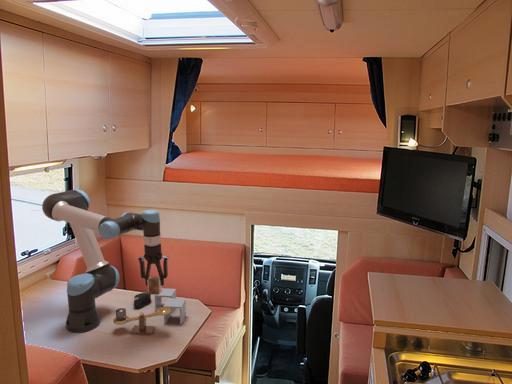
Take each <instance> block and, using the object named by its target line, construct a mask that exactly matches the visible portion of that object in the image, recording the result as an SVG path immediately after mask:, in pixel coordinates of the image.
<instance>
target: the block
mask: <svg viewBox="0 0 512 384" xmlns="http://www.w3.org/2000/svg"><path fill="white" fill-rule="evenodd" d="M149 278H150V279H149V280H148V285H149V295H152V296H153V295H154V296H155V295H159V279H160V277H159V276H151V275H150V276H149Z"/></svg>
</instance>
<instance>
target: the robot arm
mask: <svg viewBox="0 0 512 384" xmlns="http://www.w3.org/2000/svg"><path fill="white" fill-rule="evenodd" d="M90 205H91V200H90V198H89V196H88V194H87V193H86V192H85V191H83V190H81V189H70V190H65V191H60V192H56V193H52V194H51V193H50V194H49V195H47V197H45V198H44V200H43V202H42V204H41V207H42V208H41V209H42V212H43V214H44V216H46V217H47V218H49V220H53V221H55V222H62V221H63V222H65V223H68V224H69V225H70V227H71V229H72V232H73V235H74V237H75V238H74V239H75V240H76V243H77V245H78V247H79V250H80V253H81V255H82V258H83V260H84V263H85V265H86V267H87V268H86V270H85V273H81V274H77V275H75V276H72V277H71V278H70V279H68V281H67V284H66V288H67V289H66V293H67V304H68V306H67V307H68V313H67V317H66V321H65V329H66V330H67V331H68V332H71V333H85V332H89V331H92V330H94V329H95V328H97V327H99V326H100V324H101V316H100V314H99V311H98V310H97V307H96V299H97V298H99V297H101V296H103V295H105V294H107V293H108V292H112V290H114V289H115V288H117V287H118V285H119V283H120V273H119V271H118V269H117V268H116V267H115V266H113V265H111V264H110V262H109V261H106V260H105V259H104V255H103V253H102V251H101V248H100V246H99V242H98V241H97V237H96V235H95V233H94V232H97V233H98V234H99V235H100V236H101V237H102V238H103V239H105V240H110V239H115V238H116V237H119V236H121V235H124V234H127V233H129V232H132V231H142V233H143V244H144V247H143V249H144V250H143V251H144V254H143V255H141V256H139V257H138V259H137V260H138V262H139V269H140V278H141V279H144V281H145V286H147V292H148V293H149V285H148V280H149V279H150V273H151V269H152V268H151V267H152V265H153V264H154V265H155V268H156V270H157V273H158V277H160V279H159V293H161V292H162V288H163V287H164V285H165V279H167V278H168V260H169V256H164V255H163V253H162V244H161V243H162V238H161V237H162V236H161V217H160V212H159V211H158V210H157V209H146V210H144V211H142V213H135V212H130V211H129V212H123V213H122V214H121V215H120V216H119V217H116V218H112V217H108V216H106V215H102V214H99V213H95V212H94V211H89V209H90ZM161 260H162V265H163V266H162V265H161ZM145 261H146V262H147V263H146V266H145ZM145 267H146V268H145ZM162 267H163V269H162Z"/></svg>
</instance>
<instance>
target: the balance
mask: <svg viewBox="0 0 512 384" xmlns="http://www.w3.org/2000/svg"><path fill="white" fill-rule="evenodd" d="M155 311H156V312H155ZM169 313H171V308H170V307H167V306H164V305H163V306H160V307H159V308H157V309H156V310H155V309H154V312H152V313H148V314H145V312H143V311H142V312H140V313H139V315H138V316H134V317H133V316H132V317H129V316H128V315H127V309H126V308H124V307H120V308H116V309H115V317H114V318H113V324H115V325H124V324H127V323H129V322H134V321H138V324H136V325H134V326H133V327H132V328H131V330H130V331H129V334H130V335H141V336H144V335H145V336H152V335H153V333H154V332H153V331H155V330H156V326H155V325H147V319H148V318H152V317H157V316H164V315H167V314H169ZM171 314H172V313H171Z"/></svg>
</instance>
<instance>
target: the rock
mask: <svg viewBox="0 0 512 384" xmlns="http://www.w3.org/2000/svg"><path fill="white" fill-rule="evenodd" d="M151 301H152V297H151V295H149V293H148V291H146V292H142V293H141V292H140V293H138V294H136V295H134V297H133V306H134V308H135V309H136V308H138V309H141V308H143V307H146V306H148V305H149V304H150V303H151Z"/></svg>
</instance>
